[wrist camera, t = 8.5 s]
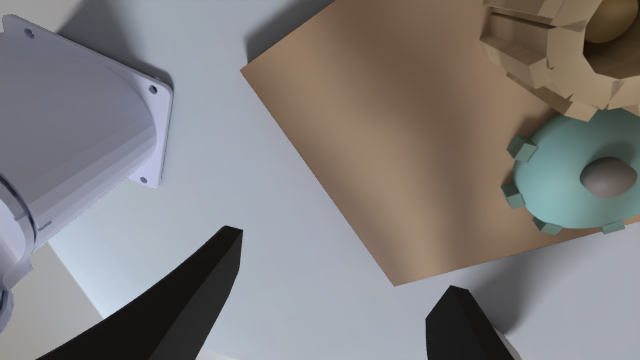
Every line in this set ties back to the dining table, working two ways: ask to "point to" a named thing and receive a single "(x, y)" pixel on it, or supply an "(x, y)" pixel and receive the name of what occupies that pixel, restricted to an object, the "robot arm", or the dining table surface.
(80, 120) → the robot arm
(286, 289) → the dining table surface
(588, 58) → the wooden gear
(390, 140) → the gear board
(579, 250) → the dining table surface
